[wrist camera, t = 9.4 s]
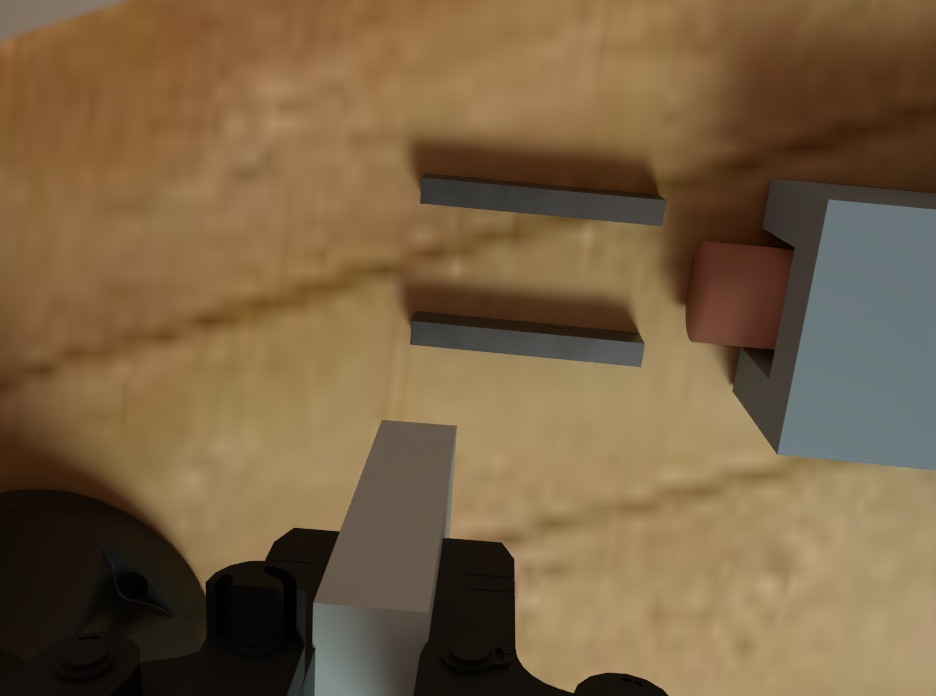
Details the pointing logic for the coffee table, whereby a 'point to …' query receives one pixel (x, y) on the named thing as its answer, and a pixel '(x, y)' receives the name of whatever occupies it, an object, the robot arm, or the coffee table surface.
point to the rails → (525, 334)
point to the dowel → (737, 294)
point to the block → (850, 328)
